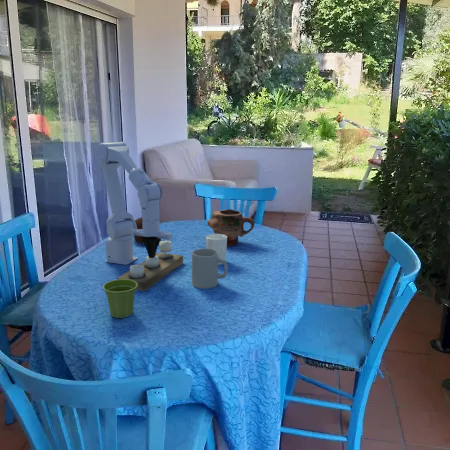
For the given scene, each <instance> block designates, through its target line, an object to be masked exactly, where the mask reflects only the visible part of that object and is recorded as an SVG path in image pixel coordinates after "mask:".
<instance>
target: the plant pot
mask: <svg viewBox="0 0 450 450" xmlns="http://www.w3.org/2000/svg"><path fill="white" fill-rule="evenodd" d="M137 286H138V284H137V282H135V281H133V280H128V279H118V280H117V279H113V280H110V281H109V280H108V281H107V282H105V283H104V284H103V286H102V289H103V290H104V292H105V295H106V299H107V302H108V303H107V304H108V308H109V313H110V316H112V317H113V318H116V319H124V318H127V317H129V316H132V314H133V313H134V305H135V304H134V302H135V295H136V291H137V290H136V288H137Z"/></svg>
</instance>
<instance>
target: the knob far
mask: <svg viewBox="0 0 450 450" xmlns="http://www.w3.org/2000/svg"><path fill="white" fill-rule="evenodd" d="M172 243H173V242H172V241H171V240H160V242H159V244H158V245H159V252H160V253H171V252H172V250H173V244H172Z"/></svg>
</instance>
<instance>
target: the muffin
mask: <svg viewBox="0 0 450 450" xmlns="http://www.w3.org/2000/svg"><path fill="white" fill-rule="evenodd" d="M134 221H135V223H136V225H137V229H143V225H142V216H140V217H138V218H136V219H135V220H134ZM133 238H134V242H135V243H137V244H138V243H139V244H143V242H142V239H143V236H136V235H135V236H134V237H133Z"/></svg>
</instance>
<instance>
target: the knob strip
mask: <svg viewBox="0 0 450 450" xmlns="http://www.w3.org/2000/svg"><path fill="white" fill-rule="evenodd" d="M155 256H158V257H159V266H158V267H155V268H149V267H146V260H144V261H143V262H141V263H140V265H143V266H144V276H143V277H140V278H133V277H131V276H130V269H129V270H128V271H126V272H125V273H123V274H122V275H120V276H119V277H116V278H117V279H116V280H118V279H128V280H133V281H135V282H137V284H138V286H137V288H136V291H141V292H146V291H147V290H148V289H150V288H151V287H153V286H154V285H155V284H158V282H160V281H161V280H162V279H163V278H165V277H166V276H168V275H169V274H171V273H172V272H173V271H174V270H176V269H178V268H179V267H180V266H182V265H183V264H184V255H182V254H181V255H179V254H174V253H168V252H161V251H159V252H156V255H155Z"/></svg>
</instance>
